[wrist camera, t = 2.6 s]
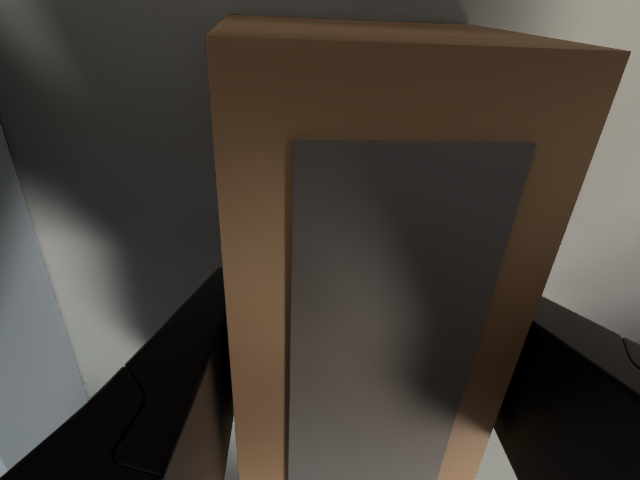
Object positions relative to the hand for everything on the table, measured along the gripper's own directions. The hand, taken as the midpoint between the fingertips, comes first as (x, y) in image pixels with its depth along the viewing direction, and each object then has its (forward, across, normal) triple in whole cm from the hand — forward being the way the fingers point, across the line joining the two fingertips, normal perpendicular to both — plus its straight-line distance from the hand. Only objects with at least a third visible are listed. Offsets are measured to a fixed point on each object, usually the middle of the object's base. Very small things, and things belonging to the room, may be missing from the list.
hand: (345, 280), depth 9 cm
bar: (+1, 0, 0) cm, 1 cm away
